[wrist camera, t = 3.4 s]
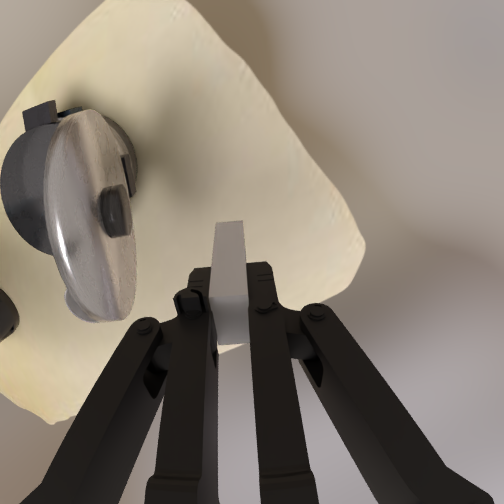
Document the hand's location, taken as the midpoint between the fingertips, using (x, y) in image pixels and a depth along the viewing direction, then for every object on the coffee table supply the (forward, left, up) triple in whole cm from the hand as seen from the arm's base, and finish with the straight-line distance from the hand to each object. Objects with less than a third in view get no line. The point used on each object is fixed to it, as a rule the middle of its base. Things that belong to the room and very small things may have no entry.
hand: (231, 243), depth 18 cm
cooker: (-23, 0, -29) cm, 37 cm away
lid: (-13, 0, -8) cm, 15 cm away
